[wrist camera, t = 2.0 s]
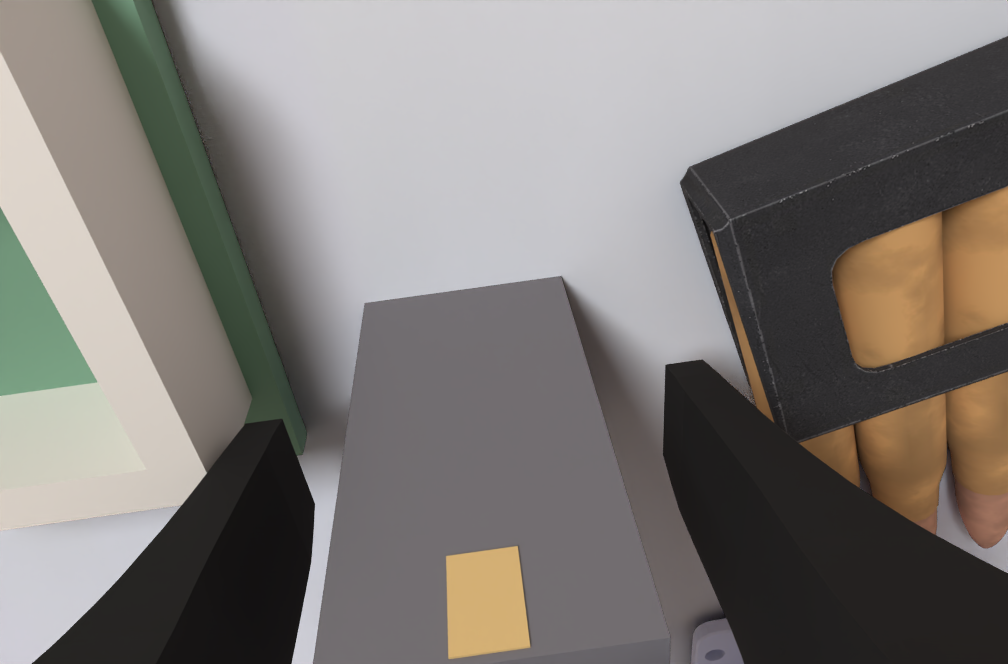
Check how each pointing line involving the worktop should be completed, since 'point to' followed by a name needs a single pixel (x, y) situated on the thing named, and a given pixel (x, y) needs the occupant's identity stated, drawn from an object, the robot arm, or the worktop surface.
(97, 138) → the board
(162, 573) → the robot arm
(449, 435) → the plug
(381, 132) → the worktop surface
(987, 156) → the ammunition clip
